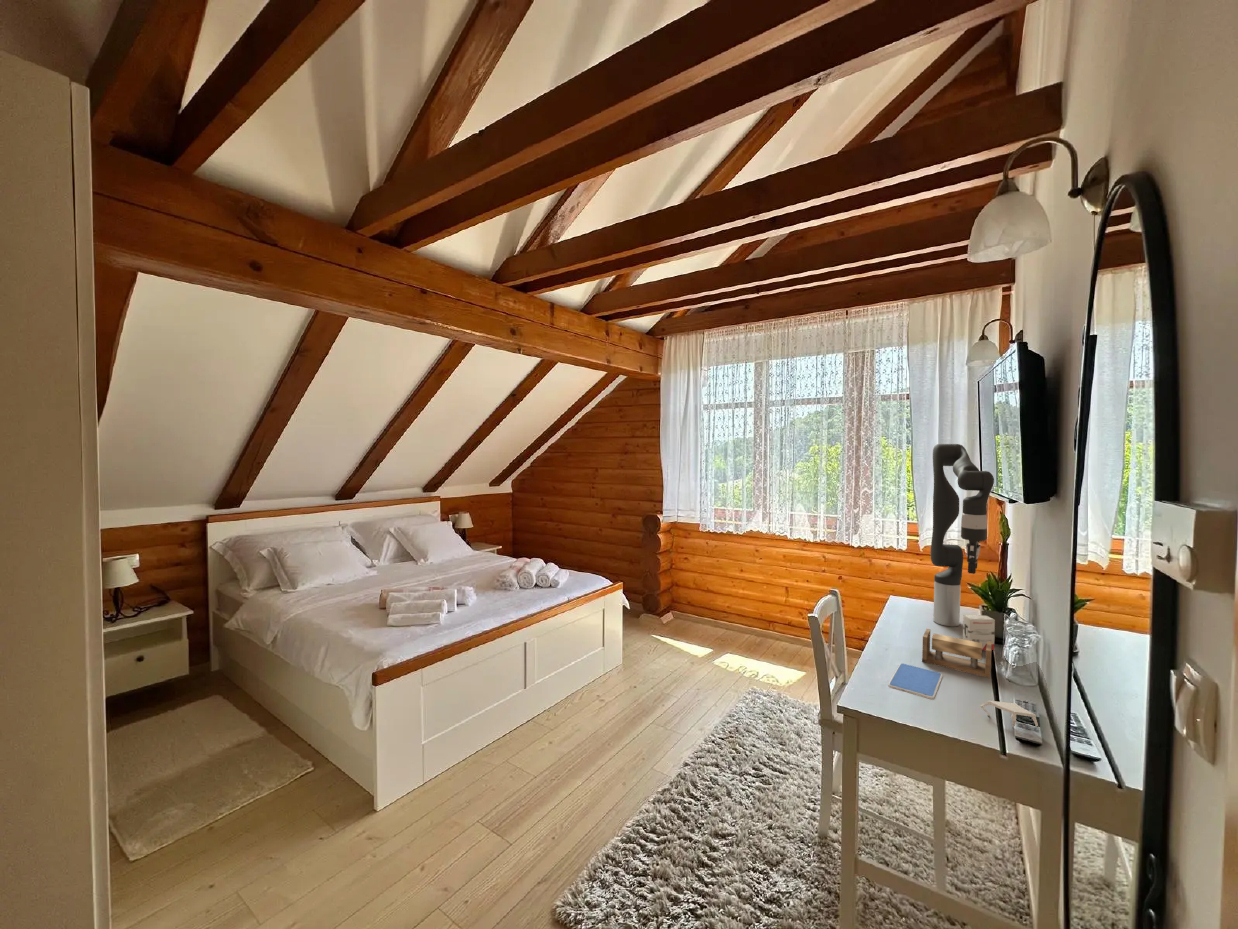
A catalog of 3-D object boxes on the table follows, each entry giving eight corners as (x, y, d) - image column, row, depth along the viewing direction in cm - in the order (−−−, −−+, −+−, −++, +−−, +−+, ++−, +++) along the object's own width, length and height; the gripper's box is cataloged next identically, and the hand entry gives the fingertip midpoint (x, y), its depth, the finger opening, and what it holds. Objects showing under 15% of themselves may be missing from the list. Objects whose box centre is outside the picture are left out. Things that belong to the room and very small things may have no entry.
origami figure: (1031, 721, 136) (1032, 703, 136) (1039, 737, 129) (1039, 719, 129) (978, 709, 142) (979, 692, 142) (982, 724, 135) (983, 706, 135)
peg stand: (925, 652, 179) (926, 628, 179) (991, 667, 167) (991, 642, 167) (922, 661, 172) (922, 636, 172) (989, 678, 160) (990, 651, 160)
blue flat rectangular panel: (933, 701, 148) (933, 697, 148) (887, 688, 156) (887, 684, 156) (943, 677, 162) (943, 673, 162) (899, 665, 171) (900, 662, 171)
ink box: (986, 645, 185) (987, 614, 184) (994, 651, 180) (995, 619, 179) (961, 644, 186) (962, 614, 185) (969, 650, 181) (970, 619, 180)
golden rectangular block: (981, 654, 167) (982, 643, 167) (981, 660, 163) (981, 648, 163) (933, 644, 176) (933, 633, 176) (931, 649, 172) (931, 638, 172)
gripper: (985, 530, 169) (984, 577, 170) (987, 524, 180) (986, 568, 181) (959, 528, 174) (958, 573, 175) (963, 522, 185) (961, 565, 186)
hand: (972, 570), depth 178 cm, fingers open, 8 cm apart
